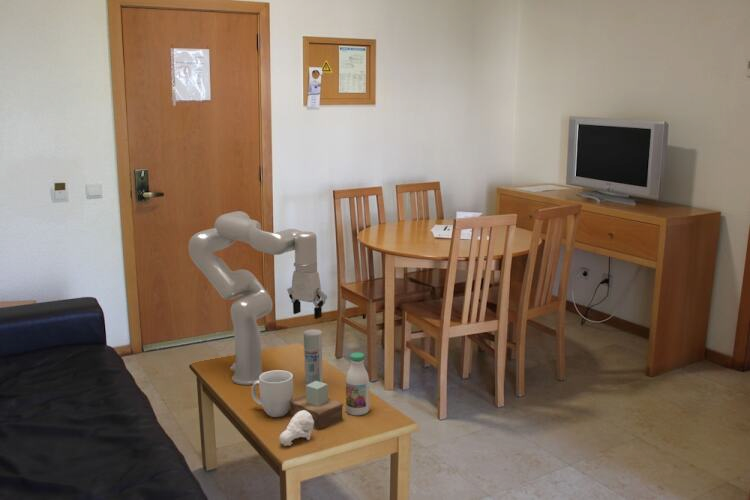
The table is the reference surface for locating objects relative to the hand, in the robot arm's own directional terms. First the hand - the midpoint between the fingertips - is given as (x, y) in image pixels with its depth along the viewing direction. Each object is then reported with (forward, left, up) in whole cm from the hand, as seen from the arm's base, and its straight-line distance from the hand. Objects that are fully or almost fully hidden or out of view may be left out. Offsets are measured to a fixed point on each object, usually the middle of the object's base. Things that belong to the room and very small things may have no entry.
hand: (307, 315), depth 253 cm
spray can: (-3, +6, -28) cm, 29 cm away
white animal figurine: (+21, -31, -29) cm, 47 cm away
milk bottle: (+24, -3, -28) cm, 37 cm away
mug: (+2, -20, -28) cm, 35 cm away
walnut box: (+16, -15, -29) cm, 36 cm away
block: (+16, -15, -23) cm, 32 cm away
